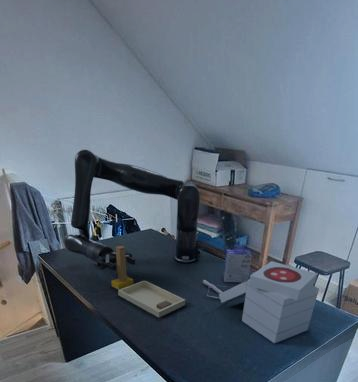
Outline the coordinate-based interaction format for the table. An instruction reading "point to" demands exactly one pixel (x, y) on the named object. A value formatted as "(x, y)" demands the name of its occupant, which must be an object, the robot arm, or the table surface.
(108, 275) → the table surface
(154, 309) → the tray
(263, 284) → the pizza boxes
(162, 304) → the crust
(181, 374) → the table surface
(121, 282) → the peg stand
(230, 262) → the ink cartridge box
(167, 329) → the table surface
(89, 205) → the robot arm
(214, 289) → the crossbow
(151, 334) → the table surface
